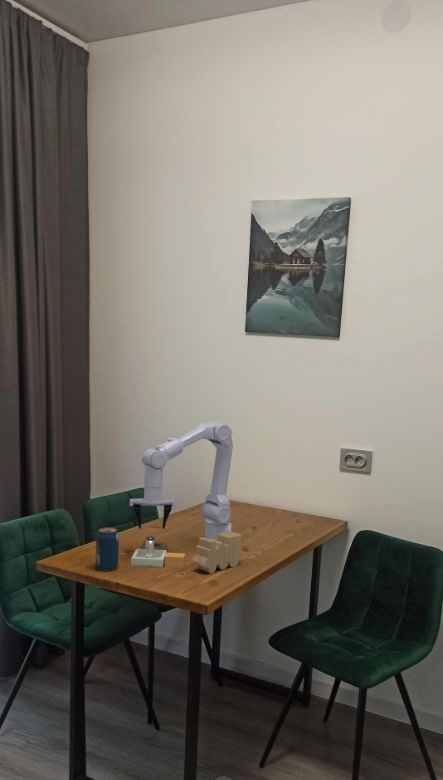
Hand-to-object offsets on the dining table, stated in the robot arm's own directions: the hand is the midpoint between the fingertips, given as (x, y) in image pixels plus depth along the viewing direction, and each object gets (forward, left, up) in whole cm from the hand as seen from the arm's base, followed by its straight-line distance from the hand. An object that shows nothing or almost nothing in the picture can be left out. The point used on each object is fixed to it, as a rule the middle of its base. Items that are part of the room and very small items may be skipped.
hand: (151, 527), depth 208 cm
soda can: (+12, +11, -10) cm, 19 cm away
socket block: (0, -7, -10) cm, 12 cm away
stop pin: (0, +3, -10) cm, 10 cm away
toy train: (-22, +5, -10) cm, 25 cm away
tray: (0, +3, -10) cm, 11 cm away
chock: (-9, +5, -10) cm, 14 cm away
